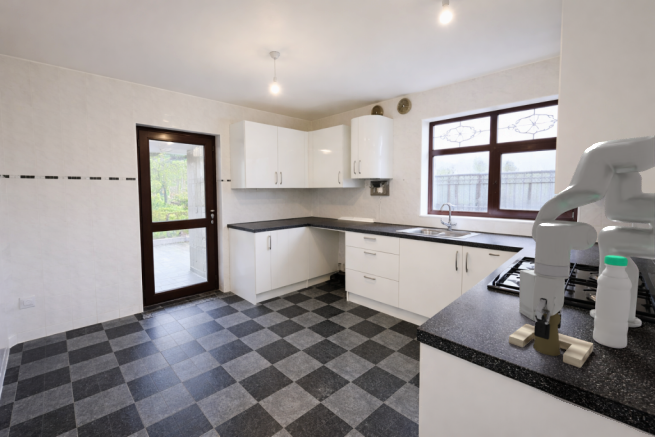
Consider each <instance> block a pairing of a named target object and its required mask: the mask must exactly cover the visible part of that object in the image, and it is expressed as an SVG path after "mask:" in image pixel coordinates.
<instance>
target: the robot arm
mask: <svg viewBox="0 0 655 437" xmlns="http://www.w3.org/2000/svg"><path fill="white" fill-rule="evenodd" d="M653 168H655V135H647V136H639V137H629V138H620V139H611V140H605V141H601V142H597V143H594V144H592V145H591V146H590V147H588V148H587V149H585V151H584V152H582V153H581V157H580V159H579V160H578V164H577V166H576V168H575V170H574V173H573V175H572V178H571V180H570V182H569V184H568V186H567V187H566V188H565V189H564V190H562V191H560V192H558V193H557V194H556V195H554V196H553V197H551V198H550V199H548V200H547V201H546V202H545V203H544V204H543V205H541V207H540V209H539V211H538V213H537V215H536V217H535V219H534V223H533V225H532V228H531V236H532V239H533V241H534V242H535V249H534V251H535V252H534V263H533V264H534V266H533V267H534V268H533V270H534V274H536V279H535V284H534V291H533V300H532V310H533V311H534V312H535V311H536V316H535V321H534V326H535V330H534V335H535V336H537V337H540V338H544V339H547V340H548V339H549V336H550V324H549V320H550V317H551V316H553V315H555V314H556V313H558V314H559V315H560V317H561V318H562V309H563V307H564V302H565V284H566V282H565V280H567V279H569V278H570V271H571V270H570V267H571V253H572V252H571V251H572V250H573V251H584V250H588V249H590V248H592V247H593V246H594V245H596V242H597V244H598V251H599V267H598V277H599V276H600V275H601V274H602V272H603V270H605V268H606V265H605V263H604V258H605V256H608V255H614V256H622V257H625V258H627V259H628V264H627V267H626V268H625V272H626V273H627V275H628V278H629V279H630V281H631V283H632V287H631V289H630V293H631V299H630V311H629V317H628V328H638V327H641V326H642V320H641V319H640V318H638V317H636V309H637V299H638V289H639V288H638V287H639V276H640V271H639V270H640V269H639V268H638V266H637V264H636V263H635V262H634V261H633V259H632V258H640V259H648V260H655V192H643V191H642V190H643V189H642V187H643V186H642V185H643V184H642V183H643V181H642V180H643V178H642V175H641V172H645V171H648V170H651V169H653ZM603 198H604V205H603V206H604V215H605V217H606V219H607V220H609V221H610V222H615V223H622V224H627V223H628V224H639V225H649V226H650V228H649V227H638V226H626V225H610V226H605V227H604V228H602V229H600V231H599V232H597V230H596V228H595V227H594V226H593V225H591V224H589V223H586V222H582V221H569V220H559V219H558V220H557V218H558V217H560V216H561V215H562V214H564V213H565V212H568V211H570V210H573V209H577V208H580V207H584V206H586V205H591V204H593V203H597V202H598V201H601V200H602V199H603ZM631 257H632V258H631ZM545 311H548V312H545ZM544 315H546V319H545V316H544ZM589 315H590V316H591V318H593V319H595V315H596V311H595V309H591V310H589ZM561 325H562V319H561V320H560V323H559V324H558V330H559V329H561Z"/></svg>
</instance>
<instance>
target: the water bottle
mask: <svg viewBox="0 0 655 437" xmlns="http://www.w3.org/2000/svg"><path fill="white" fill-rule="evenodd" d="M604 263H605V265H606V268H605V270H603V272H602V274H601V275H600V276H599V275H598V277H597V280H596V283H597V288H596V294H595V311H596V315H595V318H593V319H594V320H593V323H594V324H593V325H594V328H593V332H592V338H593V340H594V341H595V342H597V344H600V345H602V346H604V347H608V348H614V349H623V348H626V347H627V345H628V331H629V327H628V317H629V311H630V299H631V293H630V289H631V287H632V283H631V281H630V279H629V278H628V275H627V273H626V272H625V268H626V267H627V264H628V259H627V258H625V257H622V256H614V255H608V256H605V258H604Z"/></svg>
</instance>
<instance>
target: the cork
mask: <svg viewBox="0 0 655 437" xmlns="http://www.w3.org/2000/svg"><path fill="white" fill-rule="evenodd" d="M545 312H548V311H545ZM544 316H545V319H546V315H544ZM560 320H561V321H562V316H561V317H560V315H559V314H558V313H556V314H555V315H553V316H551V317H550V320H549V324H550V336H549V339H548V340H547V339H544V338H540V337H537V336H536V337H535V339H534V342H533V346H532V348H533V350H535V351H537V352H538V353H540V354H542V355H547V356H552V357H554V356H555V357H557V356H560V355H561V348H560V345H559V334H558V333H559V329H558V324H559V323H560Z"/></svg>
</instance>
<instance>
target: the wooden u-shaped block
mask: <svg viewBox="0 0 655 437" xmlns="http://www.w3.org/2000/svg"><path fill="white" fill-rule="evenodd" d="M534 330H535V325H532V324H529V323H524V324H523V325H522V326H521V327H519V328H518V329H517V330H515V331H514V332H513V333H511V334H509V335H508V336H509V337H508V343H509V344H511V345H514V346H517V347H519V348H522V349H523V348H524V347H525V346H527V344H529V343H530V342H531V341H532V340H535V337H536V336H535V335H534ZM558 334H559V345H560V349H563V350H566V351H565V352H564V353H563V354H562V356H563V357H562V362H563V363H565V364H568V365H571V366H574V367H577V368H582V366H583V365H584V364H585V362H586V361H587V360H588V358H589V357H590V356H591V354H592V352H594V343H593V342H590V341H587V340H584V339H579V338H576V337H573V336H570V335H566V334H564V333H559V332H558Z"/></svg>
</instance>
